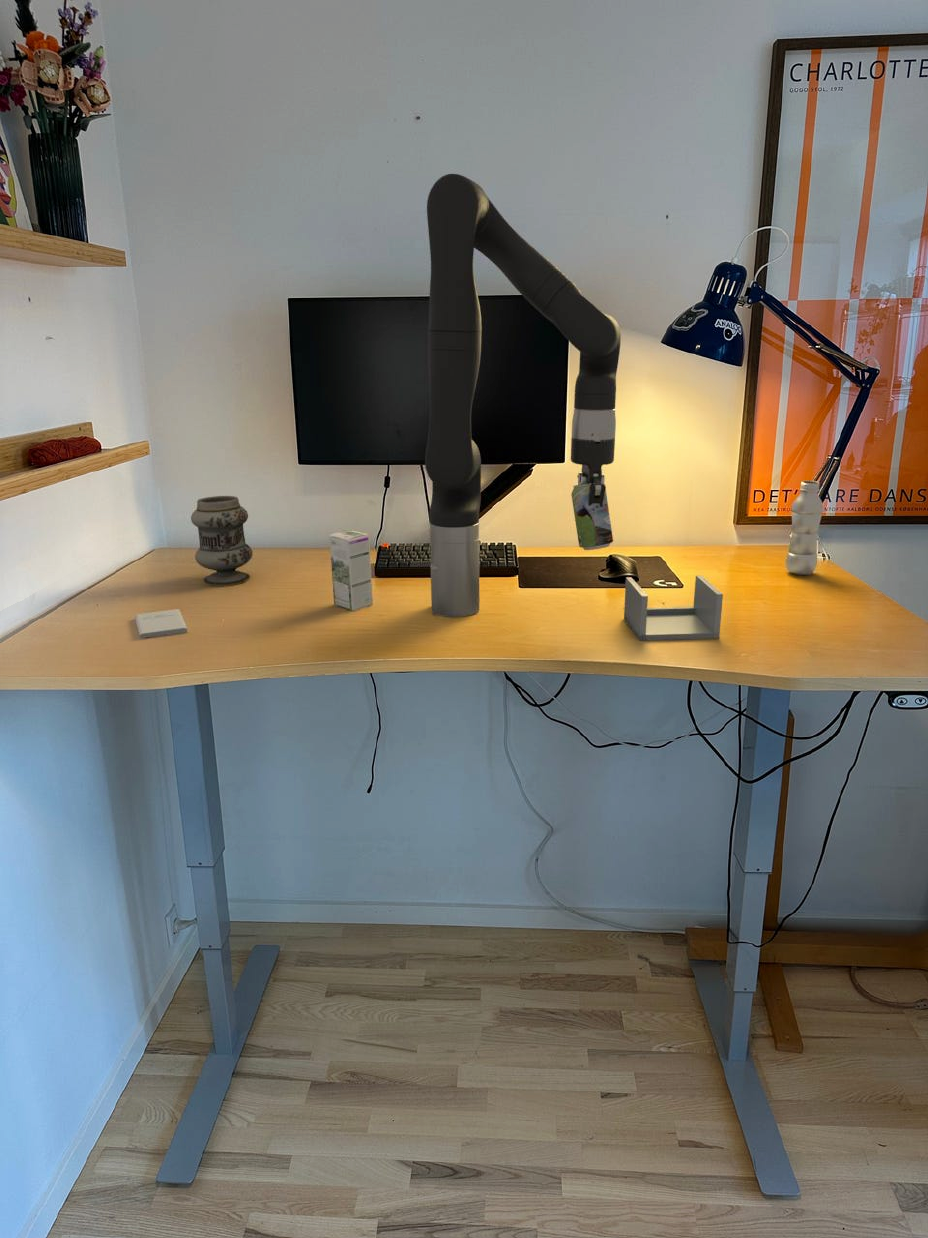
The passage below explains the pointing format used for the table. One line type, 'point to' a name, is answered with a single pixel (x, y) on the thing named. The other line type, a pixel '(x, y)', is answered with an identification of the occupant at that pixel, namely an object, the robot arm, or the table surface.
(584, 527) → the beverage can
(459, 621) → the table surface
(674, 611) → the holder
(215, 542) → the apothecary jar
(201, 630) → the table surface
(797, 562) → the plastic bottle
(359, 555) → the syrup box
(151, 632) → the external hard drive
